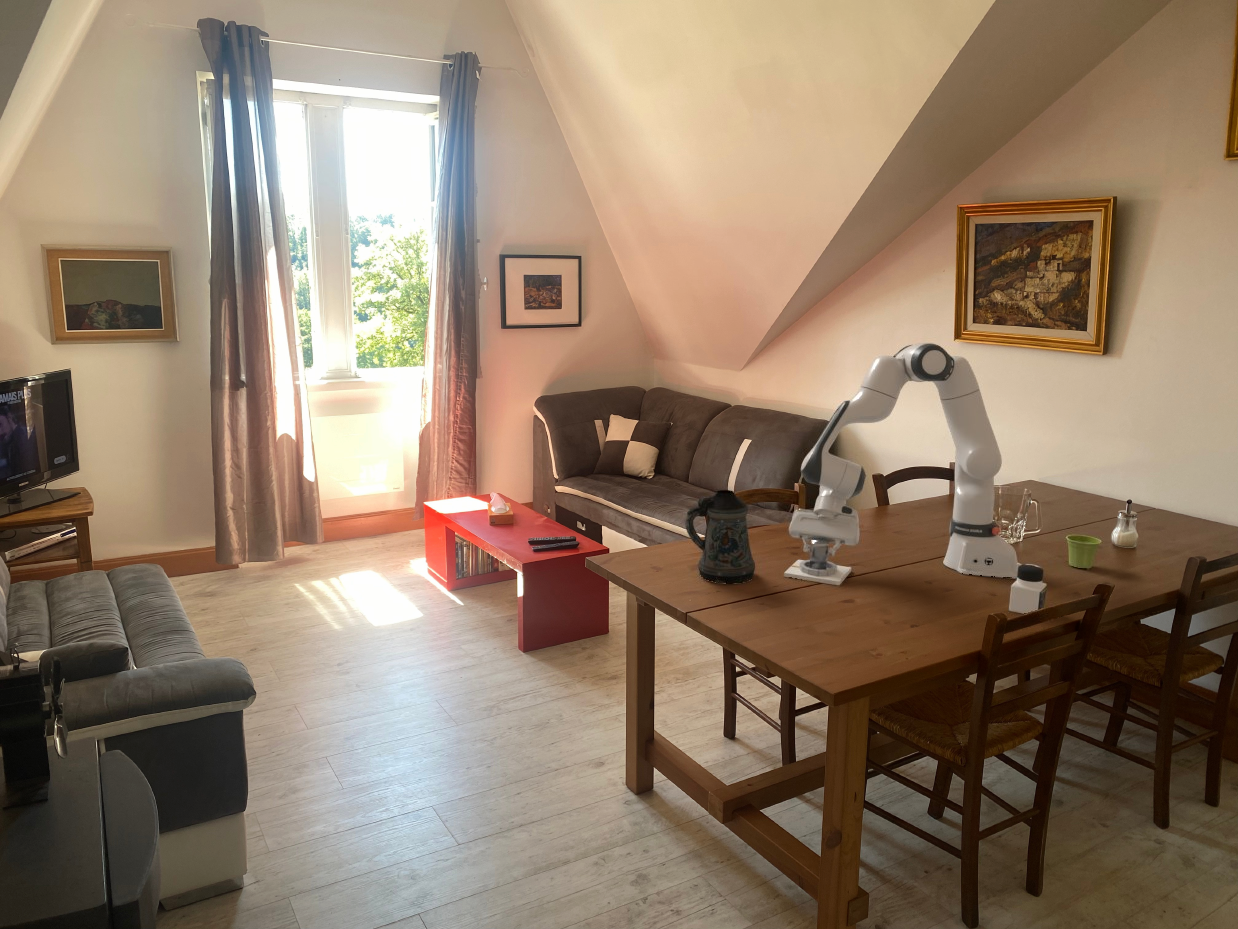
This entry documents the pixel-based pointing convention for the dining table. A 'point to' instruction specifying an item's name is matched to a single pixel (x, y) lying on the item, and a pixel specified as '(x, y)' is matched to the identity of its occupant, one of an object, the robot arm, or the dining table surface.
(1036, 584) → the medicine bottle
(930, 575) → the dining table surface
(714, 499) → the beer stein
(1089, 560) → the plant pot
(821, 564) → the coupling
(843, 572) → the mounting plate
